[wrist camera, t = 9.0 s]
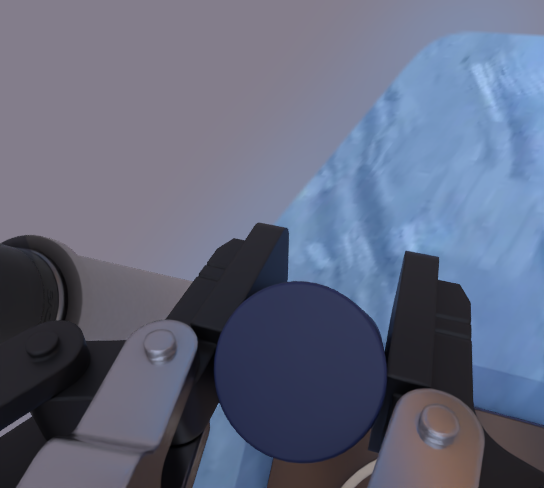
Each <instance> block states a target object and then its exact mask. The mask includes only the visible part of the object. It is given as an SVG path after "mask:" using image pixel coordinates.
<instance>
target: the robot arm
mask: <svg viewBox="0 0 544 488" xmlns="http://www.w3.org/2000/svg"><path fill="white" fill-rule="evenodd" d="M288 249H289V232H288V229H287V228H285V227H279V226H274V225H269V224H263V223H257V224H256V225H255V226H254V228H253V229H252V231H251V232H250V234H249V235H248V237H247V238H246V240H245V241H244V240H240V239H235V238H234V239H232V240H231V241H229V242H227V243H226V244H224V245H222V246H221V247H219V248H218V249H217V250H216V251H215V253H214V254H213V255H212V257H211V258H210V259H209V261H208V262H207V265H205V266H204V268H203V269H202V270H201V272H200V273H199V276H198V277H196V279H195V280H194V281H193V283H192V284H191V285H190V287H189V288H188V289H187V291H186V292H185V293H184V295H183V296H182V298H181V299H180V300H179V302H178V303H177V304H176V306H175V307H174V309H173V310H172V311H171V313H170V314H169V315H168V317H167V318H166V319H165V320H159V321H154V322H151V323H148V324H146V325H144V326H142V327H140V328H139V329H137V330H136V331H135V332H133V333H132V334H131V335H130V337H129V338H128V339H127V340H120V341H85V338H84V335H83V333H82V331H81V329H80V328H79V327H78V326H77V325H76V324H74V323H72V322H68V321H65V319H66V315H67V309H68V290H67V285H66V281H65V278H64V276H63V274H62V272H61V270H60V268H59V267H58V265H57V264H56V263H55V262H54V261H53V260H52V259H51V258H50V257H48V256H47V255H45V254H44V253H41V252H39V251H35V250H31V249H26V248H15V247H10V246H6V245H1V244H0V431H1V430H2V429H4V428H5V427H7V426H8V425H10V424H12V423H13V422H15V421H16V420H18V419H19V418H21V417H22V416H24V415H26V414H27V413H29V412H30V413H31V415H32V417H31V418H29V419H28V420H26V421H25V422H23V423H22V424H20V425H19V426H17V427H15V428H14V429H12V430H11V431H9V432H8V433H6V434H5V435H3V436H2V437H0V488H192V487H193V484H194V480H195V477H196V474H197V471H198V467H199V464H200V461H201V458H202V454H203V451H204V448H205V445H206V441H207V438H208V435H209V431H210V419H211V417H212V415H213V413H214V411H215V409H216V407H217V405H218V403H220V402H219V399H218V396H217V392H216V387H215V382H214V357H215V351H216V346H217V343H218V340H219V337H220V334H221V332H222V330H223V328H224V326H225V324H226V322H227V321H228V319H229V317H230V316H231V315H232V314H233V312H234V311H235V310H236V309H237V308H238V307H239V306H240V305H241V304H242V303H243V302H244V301H245V300H246V299H248V298H249V297H250V296H252V295H253V294H255V293H256V292H258V291H260V290H262V289H264V288H267V287H269V286H272V285H275V284H279V283H284V282H287V280H288ZM438 270H439V257H436V256H431V255H426V254H421V253H415V252H410V251H405V255H404V259H403V264H402V268H401V273H400V277H399V282H398V286H397V291H396V295H395V300H394V304H393V309H392V314H391V319H390V325H389V330H388V336H387V342H386V347H385V356H386V364H387V387H386V394H385V398H384V402H383V406H382V408H381V410H380V413H379V415H378V417H377V419H376V421H375V422H374V424H373V426H372V428H371V434H370V440H369V445H368V450H369V451H373V452H376V453H379V455H378V457H377V460H376V463H375V466H374V469H373V472H372V475H371V478H370V481H369V484H368V487H367V488H544V472H542V471H540V470H538V469H537V468H535V467H533V466H532V465H530V464H528V463H526V462H525V461H523V460H521V459H520V458H518V457H516V456H514V455H513V454H511V453H510V452H508V451H507V450H505V449H504V448H503V447H501V446H500V445H499V444H498V443H497V442H496V441H495V440H494V439H493V438H491V437H490V435H489V434H488V433H487V432H486V430H485V429H484V428H483V426H482V425H481V423H480V421H479V419H478V417H477V415H476V412H475V409H474V403H473V376H472V341H471V325H470V324H471V303H470V301H469V299H468V297H467V296H466V294H465V292H464V291H463V289H462V287H461V286H460V284H456V283H451V282H446V281H441V280H438Z"/></svg>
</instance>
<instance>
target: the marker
mask: <svg viewBox="0 0 544 488" xmlns="http://www.w3.org/2000/svg"><path fill="white" fill-rule="evenodd" d="M214 382H215V387H216V392H217V396H218V399H219V402H220V405H221V407H222V409H223V412H224V414H225V415H226V417H227V419H228V420H229V422H230V424H231V425H232V426H233V428H234V429H235V430H236V432H237V433H238V434H239V435H240V436H241V437H242V438H243V439H244V440H245V441H246V442H247V443H249V444H250V445H251V446H253V447H254V448H255V449H257V450H259V451H260V452H262V453H264V454H265V455H268V456H270V457H273V458H275V459H278V460H282V461H286V462H291V463H316V462H321V461H325V460H328V459H331V458H334V457H337V456H339V455H341V454H343V453H345V452H346V451H348V450H349V449H350V448H352V447H353V446H355V445H356V444H357V443H358V442H359V441H360V440H361V439H362V438H363V437H364V436H365V435H366V434H367V433H368V431H369V430H370V429H371V428H372V426H373V424H374V422H375V421H376V419H377V417H378V415H379V413H380V410H381V408H382V406H383V402H384V398H385V394H386V387H387V364H386V356H385V352H384V347H383V343H382V338H381V334H380V332H379V329H378V327H377V325H376V324H375V322H374V321H373V319H372V318H371V317H370V316H369V315H368V314H367V313H365V312H364V311H363V310H362V309H361V308H360V307H359V306H357V305H356V304H355V303H354V302H353V301H351V300H350V299H349V298H347V297H346V296H344V295H343V294H341V293H339V292H338V291H336V290H334V289H331V288H329V287H327V286H323V285H320V284H317V283H311V282H302V281H292V282H284V283H279V284H275V285H272V286H269V287H267V288H264V289H262V290H260V291H258V292H256V293H255V294H253V295H252V296H250V297H249V298H248V299H246V300H245V301H244V302H243V303H242V304H241V305H240V306H239V307H238V308H237V309H236V310H235V311H234V312H233V314H232V315H231V316H230V317H229V319H228V321H227V322H226V324H225V326H224V328H223V330H222V332H221V334H220V337H219V340H218V343H217V346H216V351H215V357H214Z"/></svg>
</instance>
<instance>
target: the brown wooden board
mask: <svg viewBox="0 0 544 488" xmlns="http://www.w3.org/2000/svg"><path fill="white" fill-rule="evenodd" d="M474 409H475V412H476V415H477V417H478V419H479V421H480V423H481V425H482V426H483V428H484V429H485V430H486V432H487V433H488V434H489V435H490V437H491V438H493V439H494V440H495V441H496V442H497V443H498V444H499V445H500V446H501V447H503V448H504V449H505V450H507V451H508V452H510V453H511V454H513V455H514V456H516V457H518V458H520V459H521V460H523V461H525V462H526V463H528V464H530V465H532V466H533V467H535V468H537V469H538V470H540V471H542V472H544V425H540V424H537V423H533V422H529V421H525V420H522V419H518V418H514V417H511V416H507V415H503V414H499V413H496V412H492V411H488V410H485V409H481V408H477V407H474ZM370 434H371V429H370V430H369V431H368V433H367V434H366V435H365V436H364V437H363V438H362V439H361V440H360V441H359V442H358V443H357V444H356V445H355V446H353V447H352V448H350V449H349V450H348V451H346V452H345V453H343V454H341V455H339V456H337V457H334V458H331V459H328V460H325V461H321V462H316V463H291V462H286V461H282V460H278V459H275V458H273V462H272V467H271V471H270V476H269V480H268V485H267V488H367V487H368V484H369V481H370V478H371V475H372V472H373V469H374V466H375V463H376V460H377V457H378V455H379V453H376V452H373V451H369V450H368V445H369V440H370Z"/></svg>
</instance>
